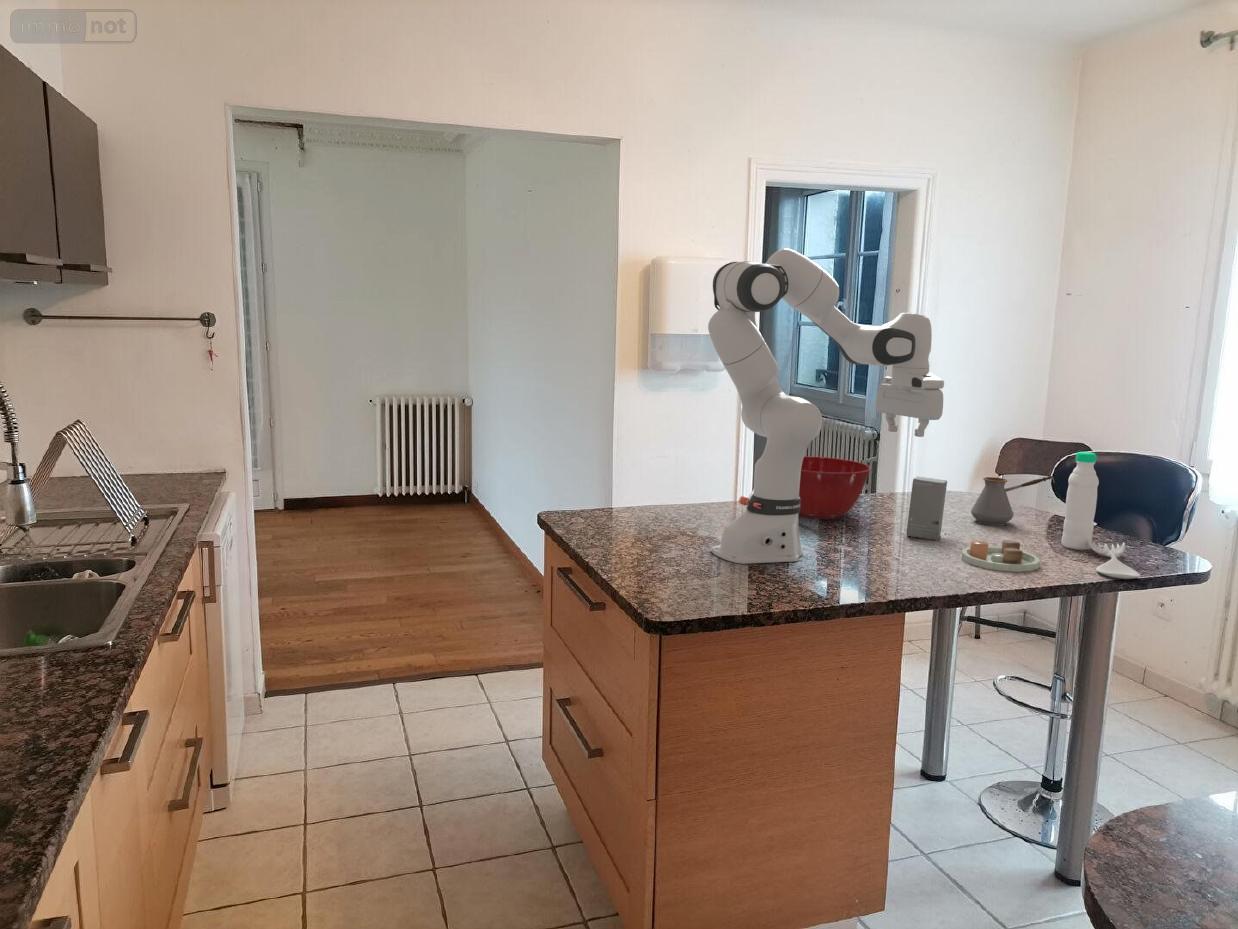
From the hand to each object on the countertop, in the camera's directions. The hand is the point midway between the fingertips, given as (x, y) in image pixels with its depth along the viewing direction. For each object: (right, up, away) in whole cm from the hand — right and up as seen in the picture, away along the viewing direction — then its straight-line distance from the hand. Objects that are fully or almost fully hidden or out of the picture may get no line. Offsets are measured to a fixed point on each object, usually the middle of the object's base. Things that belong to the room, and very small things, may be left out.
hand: (905, 434), depth 228 cm
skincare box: (+10, -27, +17) cm, 33 cm away
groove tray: (+19, -32, -11) cm, 39 cm away
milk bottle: (+47, -30, +9) cm, 56 cm away
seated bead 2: (+20, -32, -16) cm, 41 cm away
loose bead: (+14, -30, -10) cm, 35 cm away
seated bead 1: (+23, -30, -8) cm, 39 cm away
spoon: (+46, -33, -10) cm, 57 cm away
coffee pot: (+41, -25, +34) cm, 59 cm away
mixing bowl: (-13, -23, +40) cm, 48 cm away
